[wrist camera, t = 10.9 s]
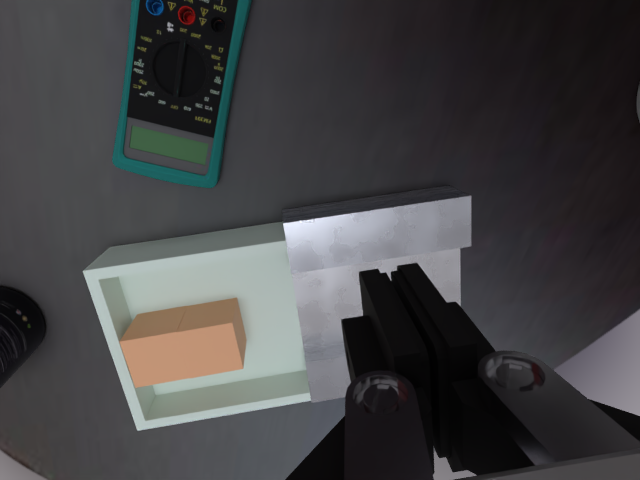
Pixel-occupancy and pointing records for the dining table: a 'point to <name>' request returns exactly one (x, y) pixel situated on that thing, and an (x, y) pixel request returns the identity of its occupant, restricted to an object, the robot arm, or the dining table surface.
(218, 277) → the tray
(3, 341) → the supplement bottle
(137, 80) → the digital multimeter
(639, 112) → the coffee mug
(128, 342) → the chip
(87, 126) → the dining table surface
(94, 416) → the dining table surface
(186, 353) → the chip
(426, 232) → the slotted block
